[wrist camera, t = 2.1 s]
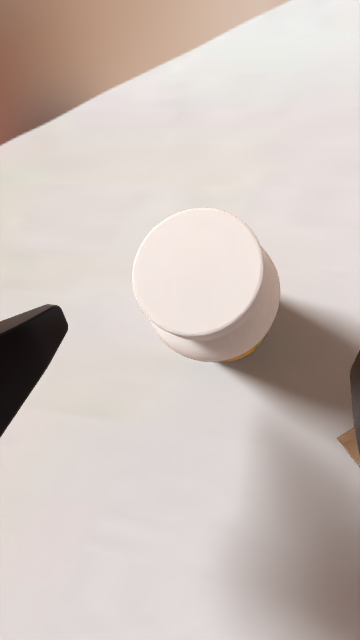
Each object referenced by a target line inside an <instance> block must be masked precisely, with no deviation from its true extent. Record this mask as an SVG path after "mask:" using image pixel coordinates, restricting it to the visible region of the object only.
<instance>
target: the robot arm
mask: <svg viewBox="0 0 360 640" xmlns="http://www.w3.org/2000/svg"><path fill="white" fill-rule="evenodd" d="M67 331H68V323H67V321H66V318H65V316H64V314H63V311H62V309H61V308H60V307H59V306H57V305H51V304H46V305H43V306H41V307H38V308H35V309H33V310H30V311H27V312H25V313H22V314H19V315H16V316H14V317H11V318H8V319H6V320H3V321H0V437H1V436H2V434H3V433H4V431H5V430H6V428H7V427H8V425H9V424H10V422H11V421H12V419H13V418H14V417H15V415H16V414H17V412H18V411H19V409H20V408H21V406H22V405H23V403H24V402H25V400H26V399H27V397H28V396H29V394H30V393H31V391H32V390H33V388H34V387H35V385H36V384H37V382H38V381H39V379H40V378H41V377H42V375H43V374H44V372H45V370H46V369H47V367H48V366H49V364H50V362H51V360H52V358H53V357H54V355H55V353H56V351H57V349H58V347H59V346H60V344H61V342H62V340H63V338H64V336H65V335H66V333H67ZM350 382H351V394H352V406H353V418H354V429H355V436H356V441H357V446H358V451H359V455H360V351H359V353H358V355H357V357H356V359H355V361H354V363H353V365H352V367H351V371H350Z"/></svg>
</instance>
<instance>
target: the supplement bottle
mask: <svg viewBox="0 0 360 640" xmlns="http://www.w3.org/2000/svg"><path fill="white" fill-rule="evenodd" d="M132 281H133V290H134V294H135V297H136V299H137V302H138V304H139V306H140V308H141V309H142V311H143V312H144V314H145V315H146V316H147V317H148V318H149V319H150V322H151V325H152V327H153V328H154V330H155V332H156V333H157V335H158V336H159V337H160V339H161V340H162V341H163V342H164V343H165V344H166V345H167V346H168V347H170V348H171V349H172V350H174V351H175V352H177V353H179V354H181V355H183V356H185V357H188V358H191V359H194V360H198V361H204V362H227V361H234V360H238V359H241V358H243V357H245V356H247V355H249V354H250V353H251V352H253V351H254V350H255V349H256V348H257V347H258V346H259V345H260V344H261V342H262V341H263V339H264V337H265V335H266V334H267V332H268V331H269V329H270V328H271V326H272V324H273V322H274V319H275V317H276V314H277V311H278V307H279V302H280V283H279V277H278V273H277V270H276V268H275V266H274V264H273V262H272V260H271V258H270V257H269V255H268V254H267V253H266V251H265V250H264V249H263V248H262V247H261V246H260V244H259V242H258V240H257V238H256V236H255V235H254V233H253V232H252V230H251V229H250V228H249V227H248V226H247V225H246V224H245V223H244V222H243V221H241V220H240V219H239V218H237V217H236V216H234V215H232V214H230V213H227V212H225V211H222V210H218V209H213V208H193V209H188V210H184V211H181V212H179V213H176V214H174V215H172V216H170V217H168V218H166V219H165V220H163V221H162V222H161V223H159V224H158V225H157V226H156V227H155V228H154V229H153V230H152V231H151V232H150V233H149V234H148V235H147V236H146V238H145V239H144V241H143V242H142V244H141V246H140V248H139V250H138V252H137V254H136V258H135V261H134V266H133V274H132Z"/></svg>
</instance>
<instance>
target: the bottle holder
mask: <svg viewBox="0 0 360 640" xmlns="http://www.w3.org/2000/svg"><path fill="white" fill-rule="evenodd" d="M337 439H338V440H339V441H340V443H341V444H342V445H343V446H344V448H345V449H346V450H347V452H348V453H349V454H350V455H351V457H352V458H353V459H354V461H355V462H356V463H357V464H358V466H359V467H360V455H359V451H358V446H357V441H356V436H355V429H354V428H353V429H351V430H349V431H348V432H346V433H345V434H343V435H341V436H340V437H338V438H337Z"/></svg>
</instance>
